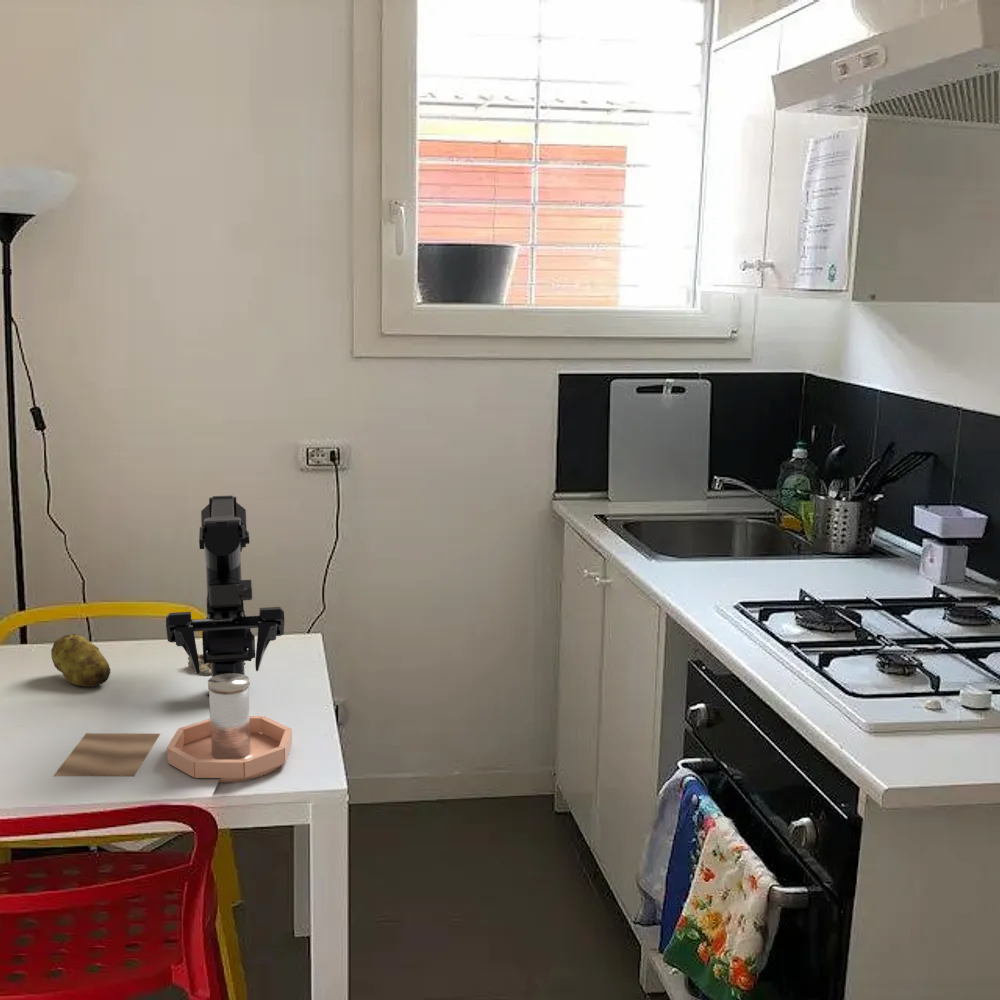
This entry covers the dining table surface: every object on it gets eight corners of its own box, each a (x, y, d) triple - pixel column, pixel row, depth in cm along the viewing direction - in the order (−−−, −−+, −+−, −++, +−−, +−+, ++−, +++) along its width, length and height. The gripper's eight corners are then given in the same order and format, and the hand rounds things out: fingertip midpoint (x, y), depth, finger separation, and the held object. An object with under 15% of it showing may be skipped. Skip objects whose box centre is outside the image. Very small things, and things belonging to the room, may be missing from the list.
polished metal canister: (204, 751, 192) (201, 678, 189) (240, 741, 196) (237, 670, 193) (221, 764, 187) (218, 690, 185) (258, 754, 191) (256, 681, 188)
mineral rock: (185, 666, 226) (188, 642, 233) (186, 686, 228) (189, 661, 235) (244, 666, 228) (246, 641, 235) (244, 685, 230) (246, 660, 237)
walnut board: (86, 737, 199) (86, 733, 199) (160, 738, 199) (160, 733, 199) (53, 780, 183) (53, 775, 183) (134, 781, 183) (133, 776, 183)
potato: (67, 696, 216) (65, 653, 215) (48, 674, 227) (45, 633, 225) (114, 687, 221) (112, 645, 219) (93, 666, 231) (91, 626, 230)
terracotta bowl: (186, 735, 200) (185, 715, 199) (297, 736, 201) (296, 716, 200) (159, 784, 183) (158, 762, 182) (280, 784, 183) (279, 762, 182)
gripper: (163, 565, 195) (164, 654, 187) (282, 559, 199) (288, 646, 191) (167, 598, 204) (168, 684, 196) (280, 592, 208) (286, 676, 200)
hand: (227, 672), depth 195 cm, fingers open, 9 cm apart
